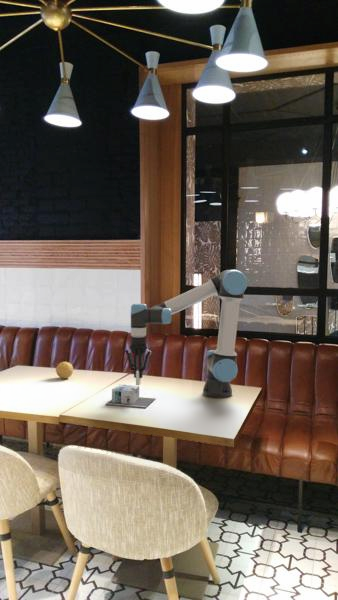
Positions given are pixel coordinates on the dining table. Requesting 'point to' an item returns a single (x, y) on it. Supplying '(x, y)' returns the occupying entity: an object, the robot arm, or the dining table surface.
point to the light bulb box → (125, 394)
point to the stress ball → (64, 370)
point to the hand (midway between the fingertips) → (138, 384)
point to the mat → (140, 403)
